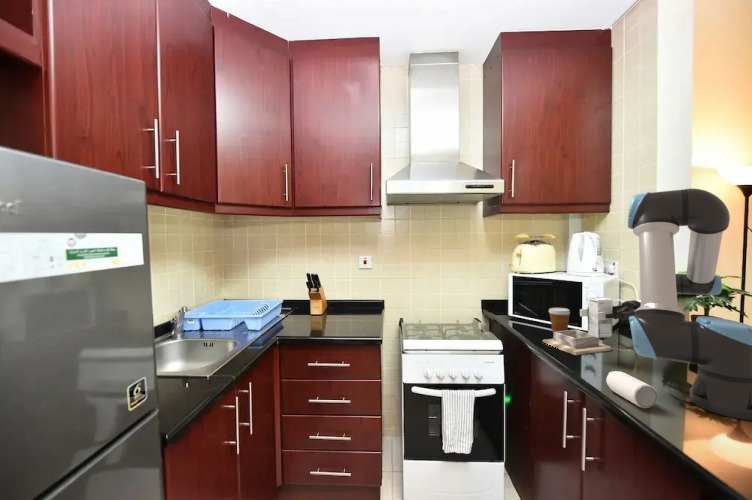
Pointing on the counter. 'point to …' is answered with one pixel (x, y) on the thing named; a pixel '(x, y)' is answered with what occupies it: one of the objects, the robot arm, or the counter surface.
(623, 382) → the can
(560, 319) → the disposable coffee cup
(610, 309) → the syrup box
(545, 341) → the stand
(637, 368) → the counter surface
